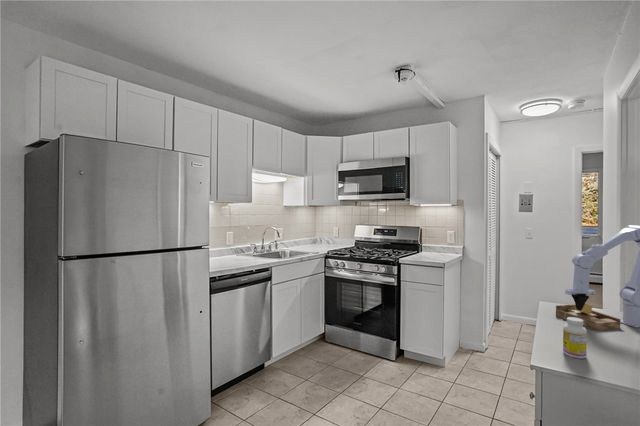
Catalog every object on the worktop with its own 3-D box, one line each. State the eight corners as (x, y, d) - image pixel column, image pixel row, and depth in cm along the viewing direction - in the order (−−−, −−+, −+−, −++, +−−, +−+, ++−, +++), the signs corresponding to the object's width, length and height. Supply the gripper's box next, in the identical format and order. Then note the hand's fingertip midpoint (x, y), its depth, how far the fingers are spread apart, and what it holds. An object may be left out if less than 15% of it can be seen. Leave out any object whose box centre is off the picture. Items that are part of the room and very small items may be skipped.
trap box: (578, 314, 162) (578, 303, 161) (620, 328, 143) (620, 316, 143) (555, 315, 159) (555, 305, 159) (595, 330, 141) (595, 318, 140)
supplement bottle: (563, 349, 122) (564, 314, 122) (586, 354, 118) (587, 318, 118) (562, 355, 117) (562, 319, 117) (586, 361, 113) (586, 323, 113)
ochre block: (581, 312, 155) (583, 303, 156) (590, 314, 151) (592, 306, 152) (575, 309, 155) (577, 301, 155) (583, 312, 151) (585, 303, 151)
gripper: (576, 282, 147) (574, 313, 148) (603, 282, 150) (600, 312, 150) (561, 279, 154) (559, 308, 155) (587, 279, 157) (585, 307, 157)
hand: (579, 309), depth 153 cm, fingers closed, pressing on ochre block
